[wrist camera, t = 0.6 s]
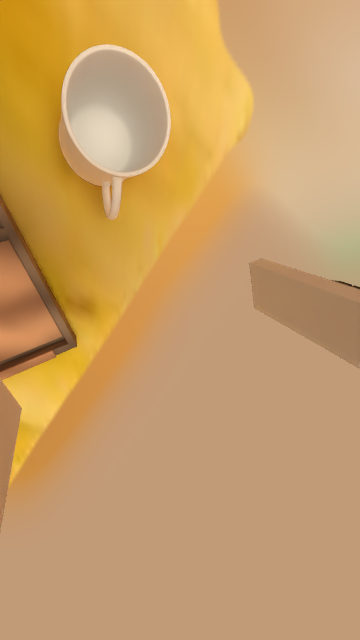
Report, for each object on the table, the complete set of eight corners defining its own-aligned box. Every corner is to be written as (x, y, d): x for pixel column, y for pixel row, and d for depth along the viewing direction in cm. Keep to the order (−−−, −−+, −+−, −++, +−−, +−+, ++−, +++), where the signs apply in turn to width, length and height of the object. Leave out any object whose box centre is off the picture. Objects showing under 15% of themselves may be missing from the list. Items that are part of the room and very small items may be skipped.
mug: (131, 220, 35) (160, 229, 25) (57, 208, 31) (55, 213, 21) (142, 110, 31) (182, 66, 21) (59, 83, 28) (58, 14, 17)
